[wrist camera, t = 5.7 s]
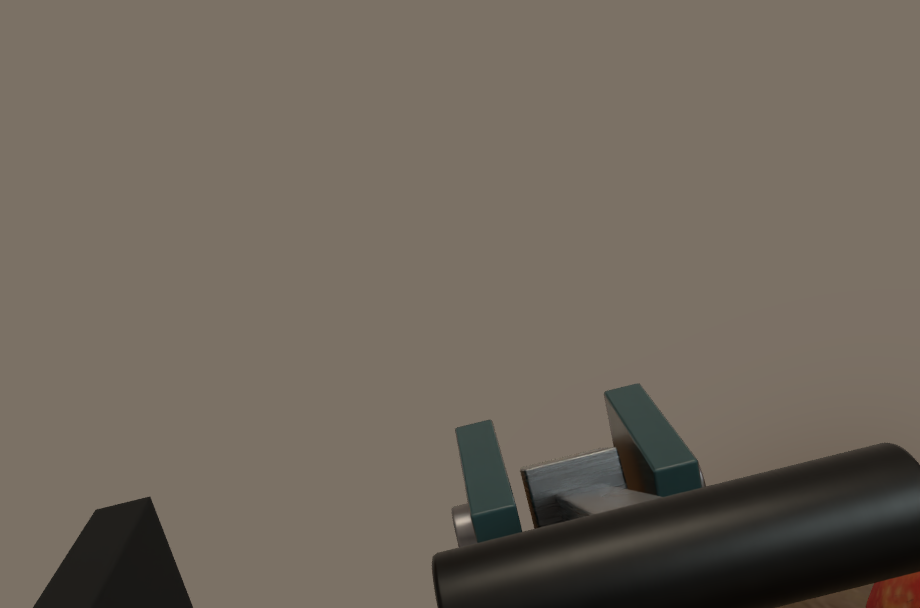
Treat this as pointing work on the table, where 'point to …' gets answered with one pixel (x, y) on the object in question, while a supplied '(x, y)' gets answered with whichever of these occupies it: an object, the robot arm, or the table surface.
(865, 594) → the table surface
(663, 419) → the switch bracket
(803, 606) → the table surface
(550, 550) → the switch lever
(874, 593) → the apple
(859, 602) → the table surface
